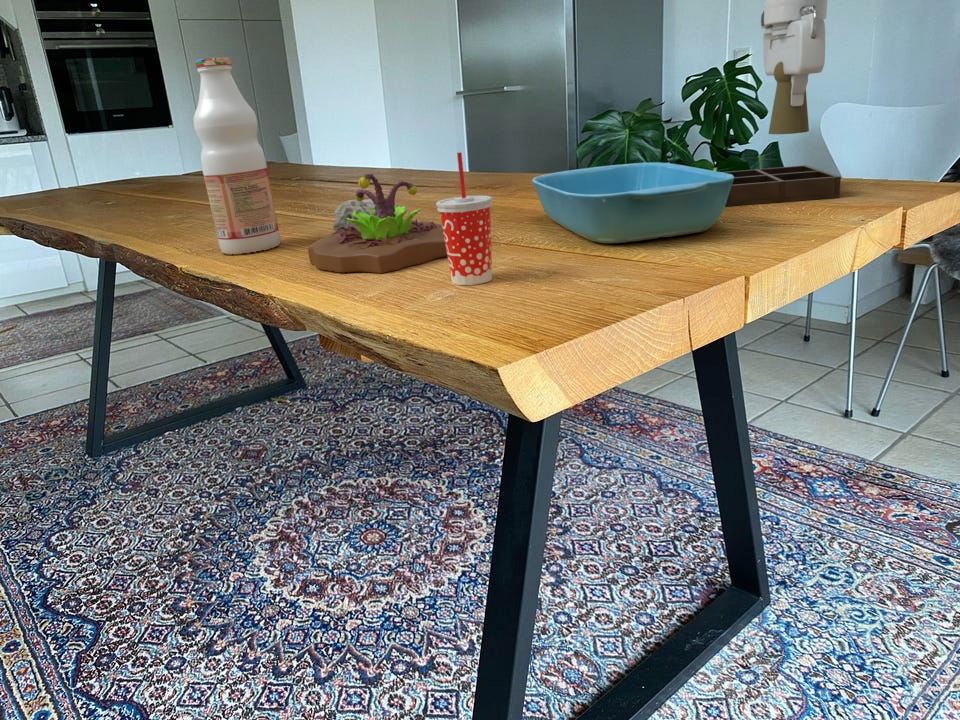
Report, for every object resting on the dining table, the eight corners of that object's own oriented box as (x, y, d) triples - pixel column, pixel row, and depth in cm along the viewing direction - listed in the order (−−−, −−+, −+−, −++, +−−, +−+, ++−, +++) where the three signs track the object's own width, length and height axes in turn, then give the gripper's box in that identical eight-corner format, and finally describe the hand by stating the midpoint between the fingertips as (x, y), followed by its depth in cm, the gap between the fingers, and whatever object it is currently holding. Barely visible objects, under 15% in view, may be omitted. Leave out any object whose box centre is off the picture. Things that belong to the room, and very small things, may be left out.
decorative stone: (321, 229, 129) (317, 200, 127) (380, 219, 133) (376, 191, 131) (342, 237, 118) (337, 206, 117) (404, 226, 123) (400, 196, 121)
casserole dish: (522, 215, 122) (519, 171, 119) (651, 200, 124) (650, 156, 122) (586, 259, 87) (584, 198, 85) (763, 236, 90) (765, 177, 88)
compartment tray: (806, 183, 125) (807, 165, 124) (839, 197, 110) (841, 176, 109) (706, 191, 127) (706, 173, 126) (725, 206, 112) (725, 185, 111)
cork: (763, 132, 122) (766, 61, 118) (800, 129, 121) (804, 57, 117) (775, 135, 116) (779, 60, 112) (815, 131, 116) (819, 56, 112)
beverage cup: (444, 276, 86) (430, 153, 81) (496, 270, 86) (485, 147, 82) (445, 289, 80) (430, 157, 76) (501, 283, 81) (490, 151, 76)
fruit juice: (208, 256, 114) (164, 62, 104) (241, 243, 122) (203, 62, 112) (262, 254, 111) (222, 54, 101) (292, 241, 119) (258, 56, 110)
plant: (283, 267, 100) (267, 183, 96) (383, 238, 114) (373, 164, 110) (388, 278, 88) (375, 183, 84) (486, 243, 102) (479, 161, 98)
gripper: (840, 0, 102) (833, 105, 107) (797, 13, 121) (792, 101, 126) (793, 5, 103) (788, 109, 108) (757, 17, 122) (754, 105, 127)
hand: (790, 105), depth 117 cm, fingers closed on cork, 4 cm apart
